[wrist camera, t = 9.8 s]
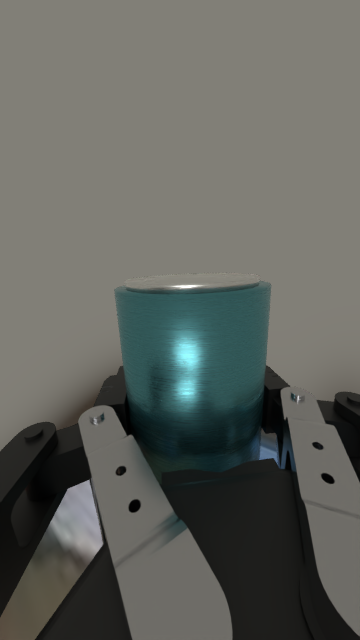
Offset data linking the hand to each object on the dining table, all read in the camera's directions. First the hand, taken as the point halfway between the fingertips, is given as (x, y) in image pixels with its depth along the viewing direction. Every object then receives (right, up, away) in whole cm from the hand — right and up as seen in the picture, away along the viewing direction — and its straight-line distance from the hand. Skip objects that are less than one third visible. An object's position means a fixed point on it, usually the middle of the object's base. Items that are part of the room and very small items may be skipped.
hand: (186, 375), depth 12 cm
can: (+1, -7, -1) cm, 7 cm away
